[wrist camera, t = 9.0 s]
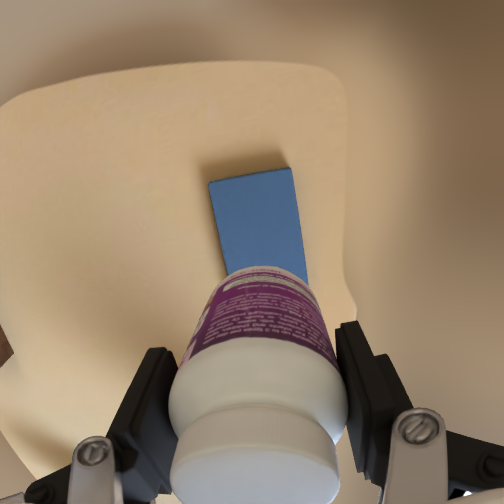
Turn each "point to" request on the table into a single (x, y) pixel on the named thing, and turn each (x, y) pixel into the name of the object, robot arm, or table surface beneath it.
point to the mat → (259, 221)
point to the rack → (4, 348)
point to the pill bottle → (258, 397)
